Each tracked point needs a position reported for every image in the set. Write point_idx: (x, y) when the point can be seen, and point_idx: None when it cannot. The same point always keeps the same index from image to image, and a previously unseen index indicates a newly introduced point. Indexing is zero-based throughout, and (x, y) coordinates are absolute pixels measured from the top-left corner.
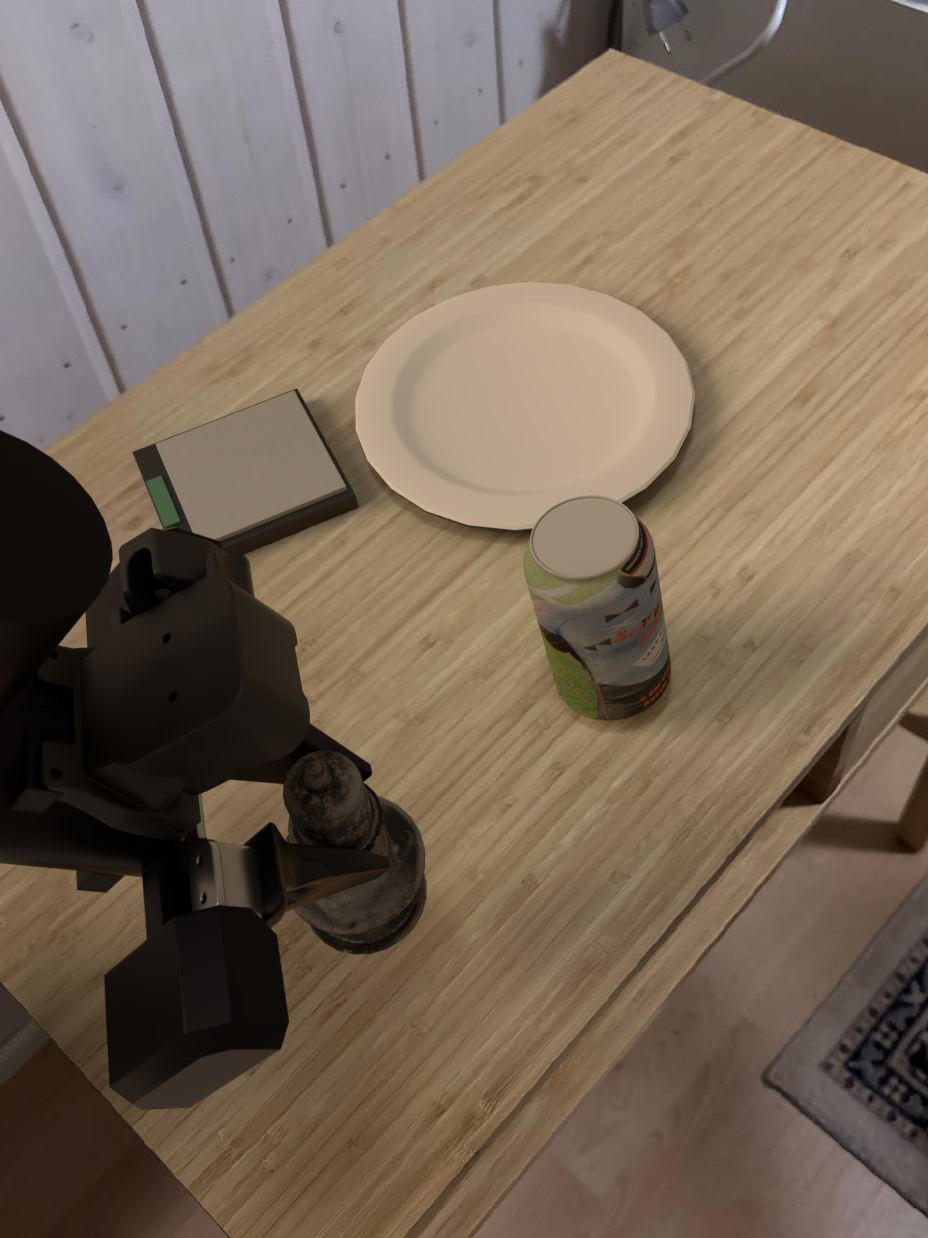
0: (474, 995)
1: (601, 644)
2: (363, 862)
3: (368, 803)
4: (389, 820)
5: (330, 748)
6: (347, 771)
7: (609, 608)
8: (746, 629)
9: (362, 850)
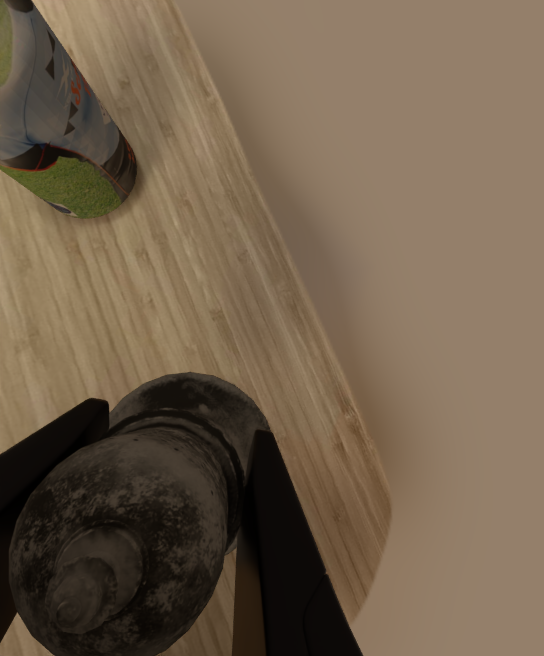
0: (276, 389)
1: (72, 115)
2: (278, 483)
3: (179, 433)
4: (161, 401)
5: (24, 467)
6: (124, 472)
7: (40, 53)
8: (110, 79)
9: (255, 476)
